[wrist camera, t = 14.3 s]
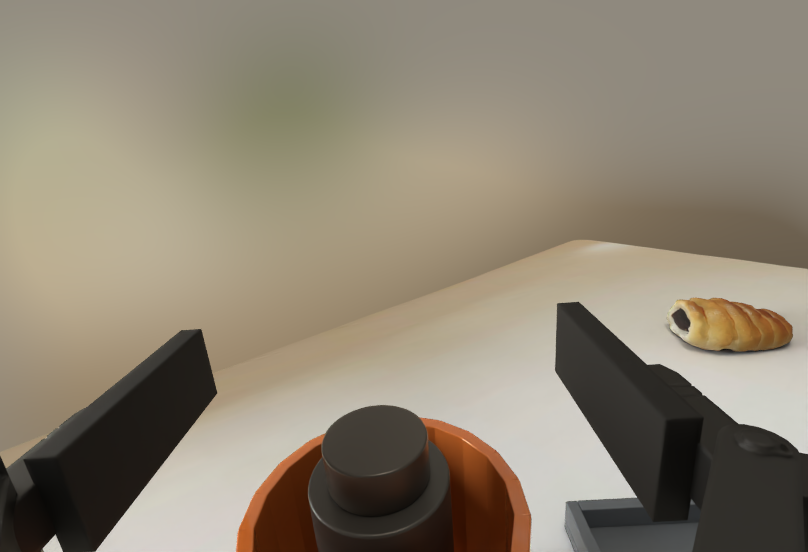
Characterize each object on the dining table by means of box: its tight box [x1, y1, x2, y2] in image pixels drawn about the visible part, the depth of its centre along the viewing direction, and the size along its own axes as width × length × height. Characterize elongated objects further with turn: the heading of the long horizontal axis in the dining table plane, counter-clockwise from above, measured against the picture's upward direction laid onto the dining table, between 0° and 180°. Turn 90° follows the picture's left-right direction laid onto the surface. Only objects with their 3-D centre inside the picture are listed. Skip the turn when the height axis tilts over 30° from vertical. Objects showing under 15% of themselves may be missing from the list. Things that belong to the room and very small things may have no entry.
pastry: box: [667, 298, 793, 352], centre depth 39 cm, size 9×7×4 cm
